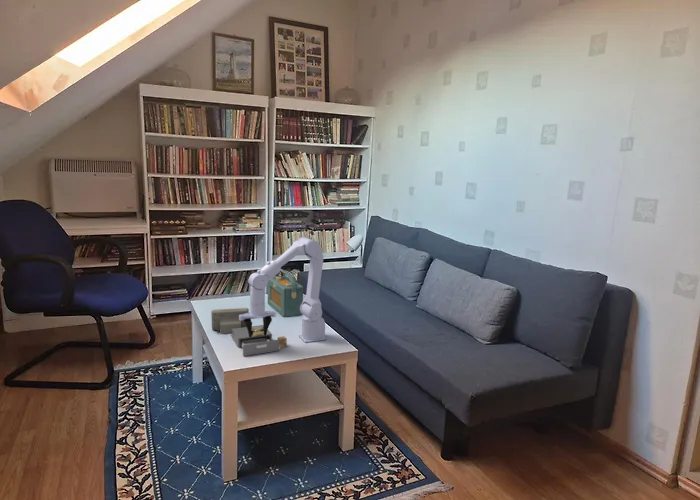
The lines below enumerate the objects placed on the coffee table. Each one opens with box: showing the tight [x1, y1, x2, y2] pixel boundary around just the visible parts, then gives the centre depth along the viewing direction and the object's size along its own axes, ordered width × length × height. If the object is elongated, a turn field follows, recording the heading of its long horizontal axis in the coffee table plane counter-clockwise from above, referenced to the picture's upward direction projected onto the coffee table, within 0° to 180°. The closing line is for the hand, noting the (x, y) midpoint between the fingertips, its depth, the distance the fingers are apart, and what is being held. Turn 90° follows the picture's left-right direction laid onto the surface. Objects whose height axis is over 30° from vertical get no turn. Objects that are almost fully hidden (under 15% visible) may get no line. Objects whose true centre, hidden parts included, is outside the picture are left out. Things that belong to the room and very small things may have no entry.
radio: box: [267, 269, 304, 318], centre depth 241 cm, size 26×11×20 cm, turn 28°
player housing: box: [231, 324, 273, 349], centre depth 199 cm, size 14×12×4 cm
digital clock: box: [210, 307, 250, 335], centre depth 209 cm, size 16×9×11 cm, turn 94°
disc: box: [252, 328, 264, 336], centre depth 190 cm, size 5×5×2 cm
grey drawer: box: [240, 337, 280, 357], centre depth 191 cm, size 14×12×4 cm
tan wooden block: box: [276, 335, 288, 349], centre depth 194 cm, size 3×3×4 cm
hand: (257, 335), depth 190 cm, fingers closed on disc, 5 cm apart
